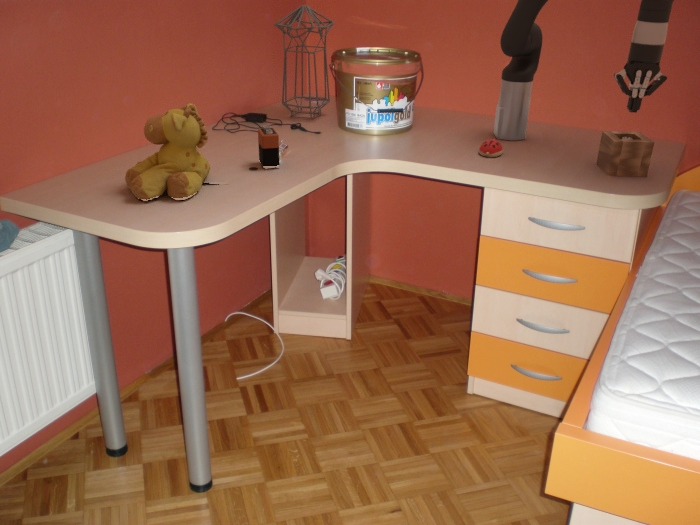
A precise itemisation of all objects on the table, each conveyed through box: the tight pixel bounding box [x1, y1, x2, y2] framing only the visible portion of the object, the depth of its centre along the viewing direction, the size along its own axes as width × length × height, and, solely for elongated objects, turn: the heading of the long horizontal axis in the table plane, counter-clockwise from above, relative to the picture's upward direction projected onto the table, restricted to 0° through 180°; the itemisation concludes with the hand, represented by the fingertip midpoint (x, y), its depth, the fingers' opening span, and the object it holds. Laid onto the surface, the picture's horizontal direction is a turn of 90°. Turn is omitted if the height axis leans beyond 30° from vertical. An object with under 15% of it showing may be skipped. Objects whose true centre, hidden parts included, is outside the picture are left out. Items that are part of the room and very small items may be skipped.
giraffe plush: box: [124, 102, 211, 200], centre depth 153 cm, size 20×24×19 cm
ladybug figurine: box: [478, 138, 504, 158], centre depth 186 cm, size 7×10×4 cm
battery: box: [257, 124, 280, 166], centre depth 171 cm, size 4×7×10 cm, turn 17°
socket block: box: [595, 130, 655, 177], centre depth 173 cm, size 10×10×9 cm
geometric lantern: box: [273, 4, 335, 120], centre depth 213 cm, size 16×16×35 cm
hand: (632, 111), depth 168 cm, fingers closed
